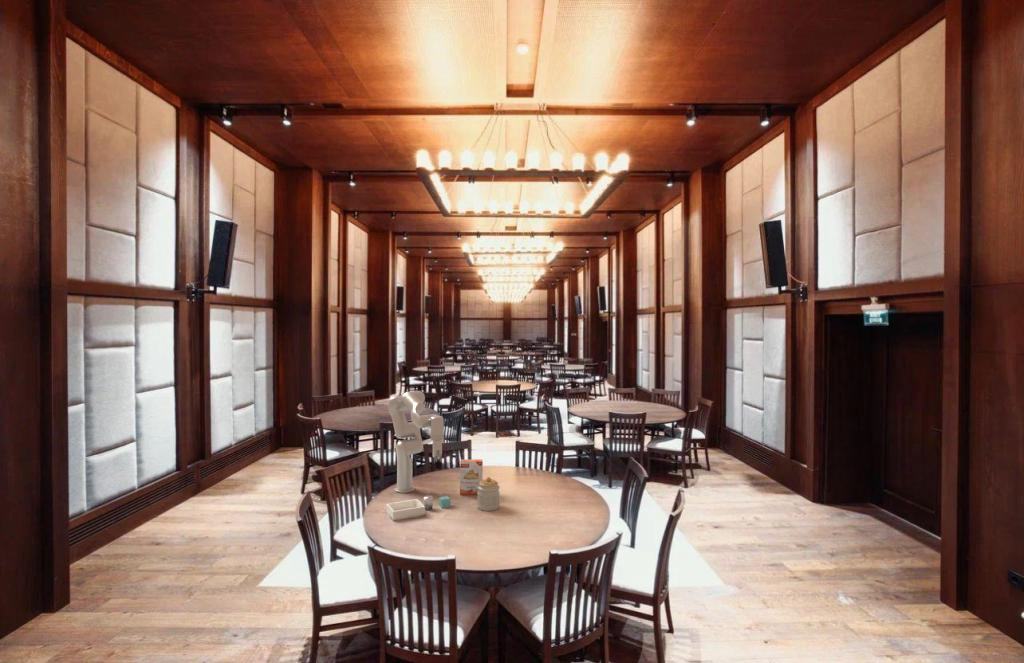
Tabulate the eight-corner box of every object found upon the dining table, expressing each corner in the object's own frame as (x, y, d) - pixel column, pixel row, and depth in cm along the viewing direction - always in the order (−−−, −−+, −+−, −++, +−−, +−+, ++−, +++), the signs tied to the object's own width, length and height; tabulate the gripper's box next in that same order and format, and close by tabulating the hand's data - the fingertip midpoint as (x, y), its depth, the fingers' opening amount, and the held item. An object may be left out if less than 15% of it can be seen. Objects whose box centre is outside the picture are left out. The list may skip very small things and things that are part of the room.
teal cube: (439, 505, 311) (439, 497, 311) (447, 504, 313) (447, 496, 313) (442, 508, 307) (442, 499, 306) (450, 507, 309) (450, 498, 309)
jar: (473, 509, 306) (473, 478, 305) (483, 502, 318) (484, 472, 317) (493, 512, 300) (493, 481, 300) (503, 505, 312) (503, 475, 312)
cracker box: (459, 495, 330) (460, 461, 329) (459, 492, 336) (460, 459, 335) (482, 494, 331) (482, 461, 330) (482, 491, 337) (482, 458, 336)
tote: (386, 512, 299) (386, 503, 299) (417, 507, 307) (417, 498, 307) (393, 521, 286) (393, 511, 286) (425, 515, 295) (425, 506, 295)
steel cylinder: (422, 508, 306) (422, 496, 306) (430, 506, 309) (430, 494, 308) (425, 511, 302) (425, 498, 302) (433, 509, 304) (433, 497, 304)
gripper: (430, 435, 319) (430, 463, 318) (431, 440, 302) (432, 470, 301) (442, 434, 320) (443, 462, 320) (444, 439, 303) (445, 469, 303)
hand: (437, 466), depth 311 cm, fingers open, 9 cm apart
